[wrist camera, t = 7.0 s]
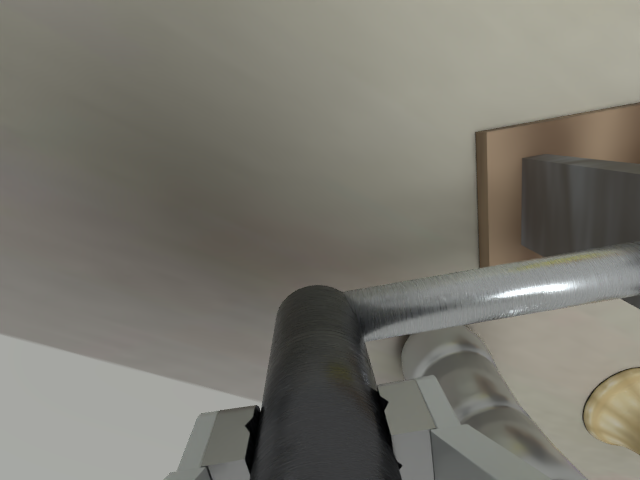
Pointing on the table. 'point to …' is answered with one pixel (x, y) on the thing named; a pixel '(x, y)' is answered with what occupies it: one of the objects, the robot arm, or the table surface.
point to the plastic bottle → (482, 396)
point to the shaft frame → (559, 186)
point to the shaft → (390, 321)
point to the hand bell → (616, 410)
